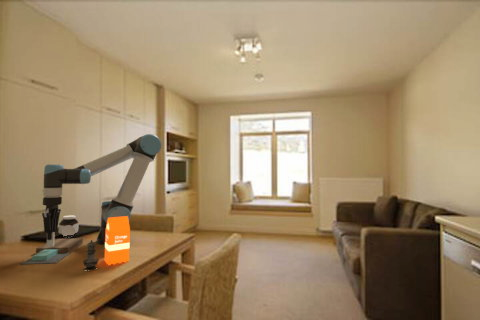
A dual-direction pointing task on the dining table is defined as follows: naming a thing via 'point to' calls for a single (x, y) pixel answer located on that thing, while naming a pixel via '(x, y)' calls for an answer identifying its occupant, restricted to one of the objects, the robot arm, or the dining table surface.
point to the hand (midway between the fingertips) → (50, 246)
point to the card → (45, 254)
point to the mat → (53, 259)
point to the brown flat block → (62, 245)
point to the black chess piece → (90, 257)
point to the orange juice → (117, 240)
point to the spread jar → (68, 225)
